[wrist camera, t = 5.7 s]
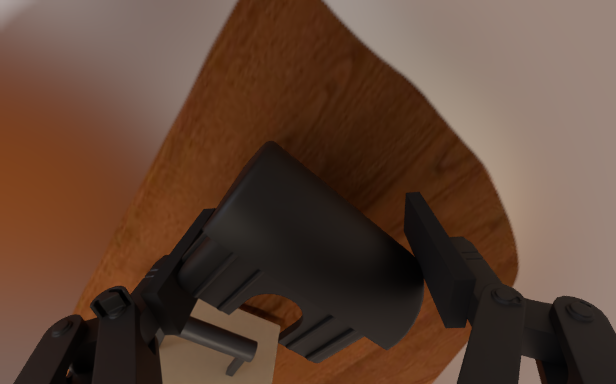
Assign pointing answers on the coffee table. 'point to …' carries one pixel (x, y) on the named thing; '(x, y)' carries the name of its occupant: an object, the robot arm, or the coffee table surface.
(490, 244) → the coffee table surface
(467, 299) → the robot arm
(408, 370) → the coffee table surface
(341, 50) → the coffee table surface
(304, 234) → the end cap
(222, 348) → the drawer
